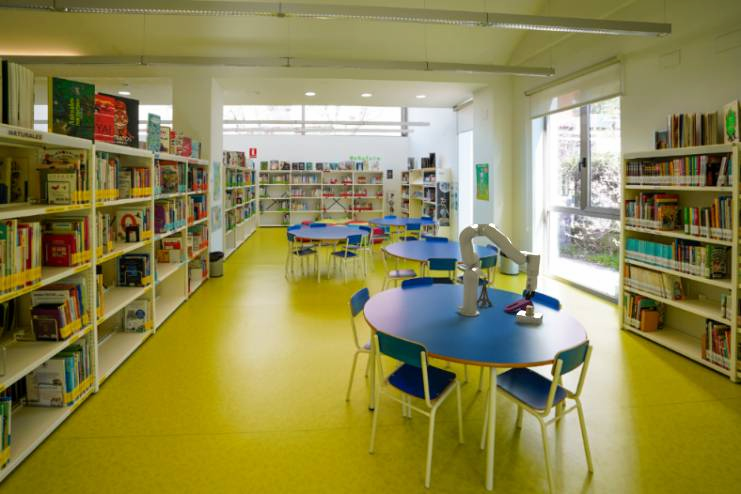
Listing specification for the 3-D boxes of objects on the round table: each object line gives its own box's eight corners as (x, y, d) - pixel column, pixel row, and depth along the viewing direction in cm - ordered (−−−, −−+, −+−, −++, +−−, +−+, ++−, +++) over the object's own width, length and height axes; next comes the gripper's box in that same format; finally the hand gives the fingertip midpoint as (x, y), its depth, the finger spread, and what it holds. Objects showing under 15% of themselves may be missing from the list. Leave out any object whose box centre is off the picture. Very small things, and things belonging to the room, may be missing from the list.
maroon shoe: (511, 321, 305) (536, 311, 304) (506, 311, 304) (531, 300, 303) (507, 317, 314) (531, 307, 313) (502, 307, 313) (526, 296, 312)
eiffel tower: (473, 304, 325) (474, 270, 321) (484, 302, 330) (486, 269, 326) (482, 308, 316) (484, 273, 312) (494, 306, 320) (496, 272, 316)
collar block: (516, 321, 286) (516, 314, 286) (520, 317, 295) (520, 310, 294) (538, 325, 279) (539, 318, 278) (542, 321, 287) (543, 314, 286)
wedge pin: (525, 321, 286) (526, 306, 285) (526, 320, 290) (527, 305, 288) (531, 323, 284) (532, 307, 283) (533, 321, 287) (534, 306, 286)
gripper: (535, 275, 273) (532, 302, 276) (541, 271, 287) (539, 296, 290) (522, 273, 277) (520, 300, 280) (529, 269, 291) (527, 294, 294)
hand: (529, 298), depth 285 cm, fingers open, 9 cm apart
